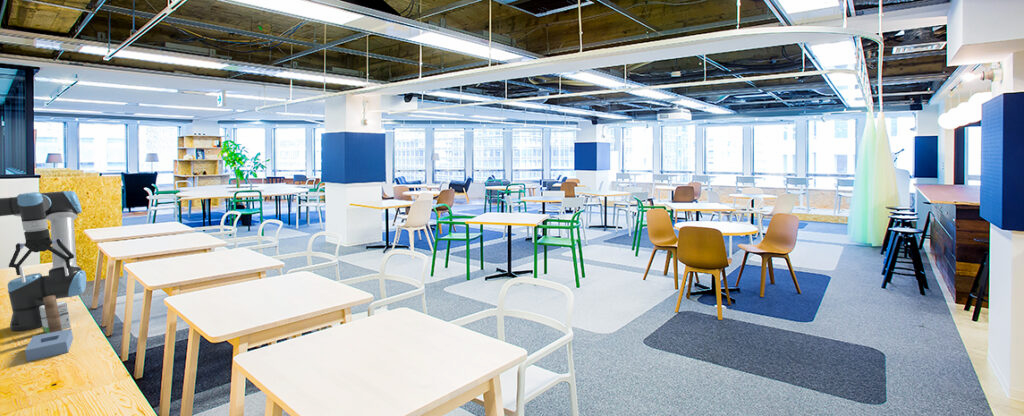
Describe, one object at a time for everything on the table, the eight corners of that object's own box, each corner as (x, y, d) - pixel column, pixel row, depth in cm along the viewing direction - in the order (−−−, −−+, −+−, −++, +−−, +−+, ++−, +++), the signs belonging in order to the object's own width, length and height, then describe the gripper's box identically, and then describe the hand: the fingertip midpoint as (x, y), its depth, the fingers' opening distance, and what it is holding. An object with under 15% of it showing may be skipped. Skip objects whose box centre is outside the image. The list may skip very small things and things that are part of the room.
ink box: (46, 333, 220) (41, 308, 218) (43, 331, 223) (38, 306, 221) (71, 326, 227) (67, 302, 226) (67, 325, 230) (63, 300, 228)
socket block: (34, 346, 206) (32, 336, 206) (73, 338, 213) (71, 328, 212) (26, 361, 192) (24, 350, 191) (68, 352, 199) (66, 341, 198)
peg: (51, 336, 217) (43, 296, 214) (63, 334, 219) (56, 294, 216) (50, 339, 213) (42, 299, 211) (62, 336, 216) (54, 296, 213)
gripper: (-9, 236, 197) (3, 287, 201) (74, 226, 212) (83, 274, 216) (-4, 233, 203) (6, 282, 207) (76, 224, 218) (84, 270, 222)
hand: (46, 278), depth 211 cm, fingers open, 13 cm apart
